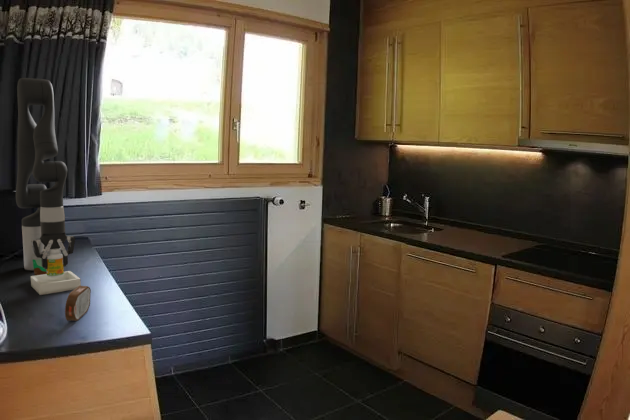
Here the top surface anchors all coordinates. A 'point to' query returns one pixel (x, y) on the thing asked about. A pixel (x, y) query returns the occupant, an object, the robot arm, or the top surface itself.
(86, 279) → the top surface
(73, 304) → the tin
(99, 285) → the top surface
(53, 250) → the supplement bottle
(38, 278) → the tray
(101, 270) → the top surface
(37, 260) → the ice cream tub
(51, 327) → the top surface
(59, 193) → the robot arm
